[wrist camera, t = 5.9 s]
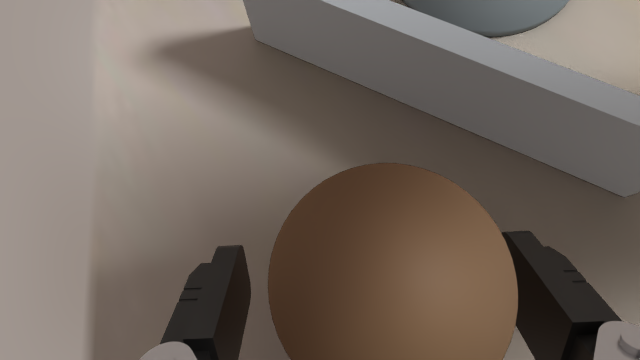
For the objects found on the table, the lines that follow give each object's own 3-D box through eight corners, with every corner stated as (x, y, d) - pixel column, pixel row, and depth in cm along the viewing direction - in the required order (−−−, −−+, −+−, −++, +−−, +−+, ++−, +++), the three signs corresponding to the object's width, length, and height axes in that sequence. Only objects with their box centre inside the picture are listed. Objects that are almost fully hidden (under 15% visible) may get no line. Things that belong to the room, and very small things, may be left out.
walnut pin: (435, 266, 18) (551, 225, 8) (389, 375, 16) (462, 477, 7) (336, 217, 19) (336, 127, 9) (285, 316, 17) (221, 335, 8)
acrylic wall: (631, 175, 18) (733, 131, 14) (624, 197, 18) (726, 160, 13) (265, 23, 22) (246, -55, 17) (255, 39, 22) (232, -35, 17)
